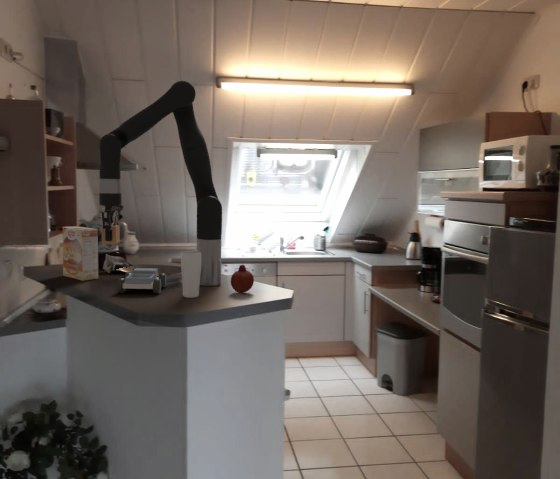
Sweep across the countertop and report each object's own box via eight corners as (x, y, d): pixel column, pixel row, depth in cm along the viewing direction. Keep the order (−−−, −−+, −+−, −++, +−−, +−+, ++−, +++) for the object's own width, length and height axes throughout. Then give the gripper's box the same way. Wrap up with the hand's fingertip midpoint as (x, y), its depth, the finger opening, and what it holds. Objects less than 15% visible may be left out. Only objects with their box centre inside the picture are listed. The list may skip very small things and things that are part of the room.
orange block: (119, 242, 192) (119, 225, 191) (116, 243, 187) (116, 226, 186) (105, 241, 192) (105, 225, 191) (101, 243, 187) (101, 226, 186)
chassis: (166, 285, 196) (166, 268, 195) (158, 294, 180) (158, 275, 179) (127, 285, 195) (127, 267, 195) (116, 294, 179) (116, 275, 179)
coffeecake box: (62, 275, 211) (61, 226, 209) (79, 273, 217) (78, 226, 215) (81, 280, 202) (81, 229, 200) (99, 278, 207) (98, 228, 205)
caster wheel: (135, 278, 223) (113, 277, 216) (122, 269, 231) (101, 268, 223) (139, 263, 222) (117, 262, 215) (126, 255, 230) (105, 253, 222)
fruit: (248, 296, 181) (248, 267, 180) (226, 294, 184) (227, 265, 183) (257, 292, 189) (257, 264, 188) (236, 290, 192) (236, 262, 191)
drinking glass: (191, 299, 174) (192, 254, 173) (176, 296, 178) (176, 252, 176) (205, 296, 180) (205, 252, 178) (190, 293, 183) (190, 250, 182)
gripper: (116, 192, 181) (116, 242, 182) (125, 192, 195) (126, 238, 197) (93, 192, 180) (94, 242, 182) (105, 191, 194) (105, 238, 196)
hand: (110, 239), depth 189 cm, fingers closed on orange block, 5 cm apart
